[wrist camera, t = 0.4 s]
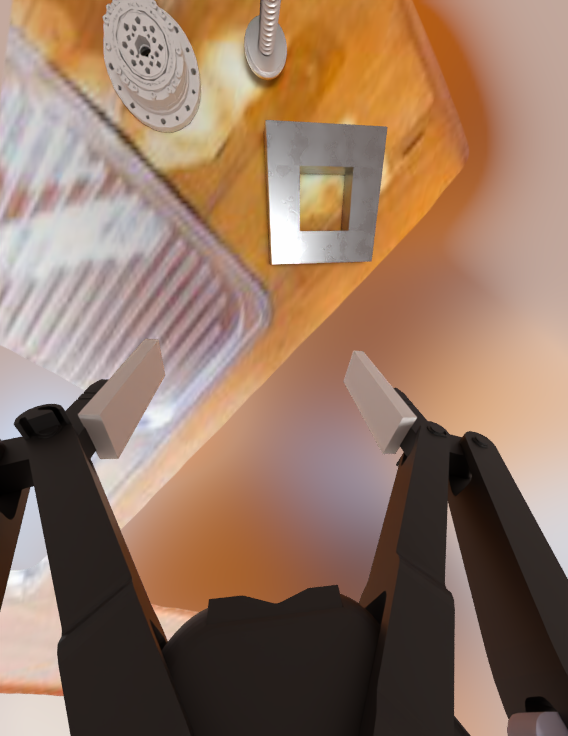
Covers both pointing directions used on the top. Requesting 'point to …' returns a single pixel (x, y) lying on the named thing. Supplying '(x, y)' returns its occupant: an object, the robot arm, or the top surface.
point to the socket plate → (331, 157)
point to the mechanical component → (151, 64)
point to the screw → (266, 42)
